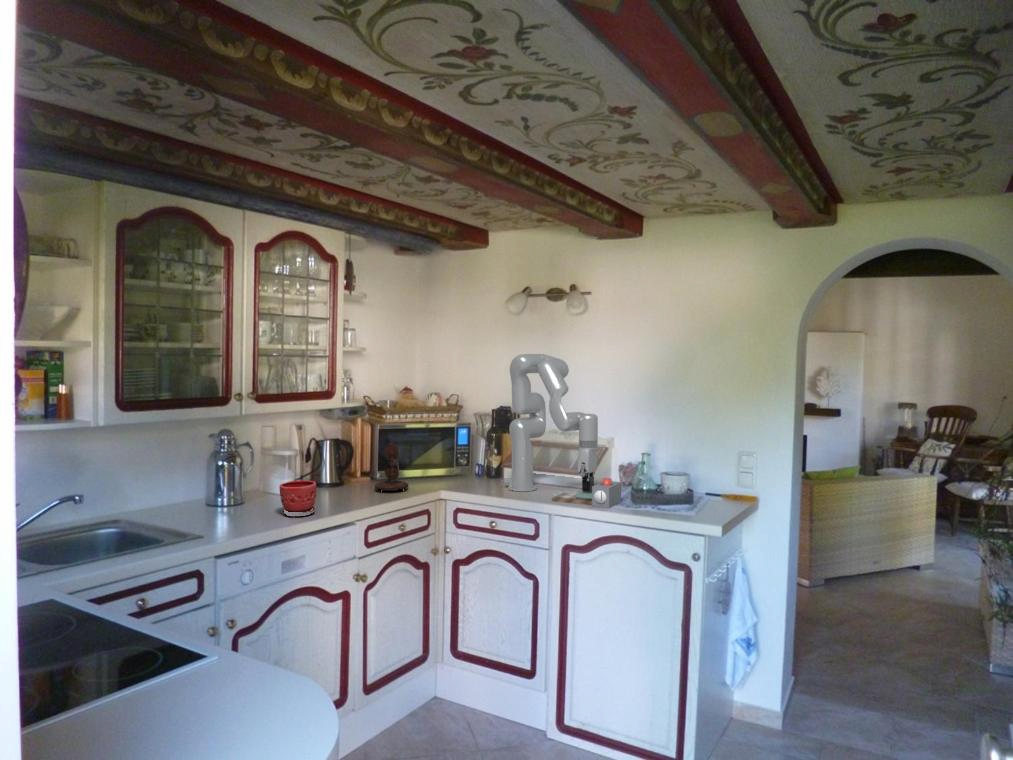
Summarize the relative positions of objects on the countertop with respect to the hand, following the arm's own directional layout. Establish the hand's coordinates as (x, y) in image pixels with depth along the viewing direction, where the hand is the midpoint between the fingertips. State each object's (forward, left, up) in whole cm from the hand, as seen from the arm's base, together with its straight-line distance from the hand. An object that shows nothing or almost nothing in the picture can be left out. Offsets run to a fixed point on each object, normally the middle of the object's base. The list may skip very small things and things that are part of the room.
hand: (587, 489), depth 291 cm
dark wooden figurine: (-85, -18, -5) cm, 87 cm away
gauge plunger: (+8, 0, 0) cm, 8 cm away
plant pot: (-86, -73, -5) cm, 113 cm away
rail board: (-5, 0, -5) cm, 7 cm away
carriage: (0, 0, -3) cm, 3 cm away
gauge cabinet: (+8, 0, -5) cm, 10 cm away
